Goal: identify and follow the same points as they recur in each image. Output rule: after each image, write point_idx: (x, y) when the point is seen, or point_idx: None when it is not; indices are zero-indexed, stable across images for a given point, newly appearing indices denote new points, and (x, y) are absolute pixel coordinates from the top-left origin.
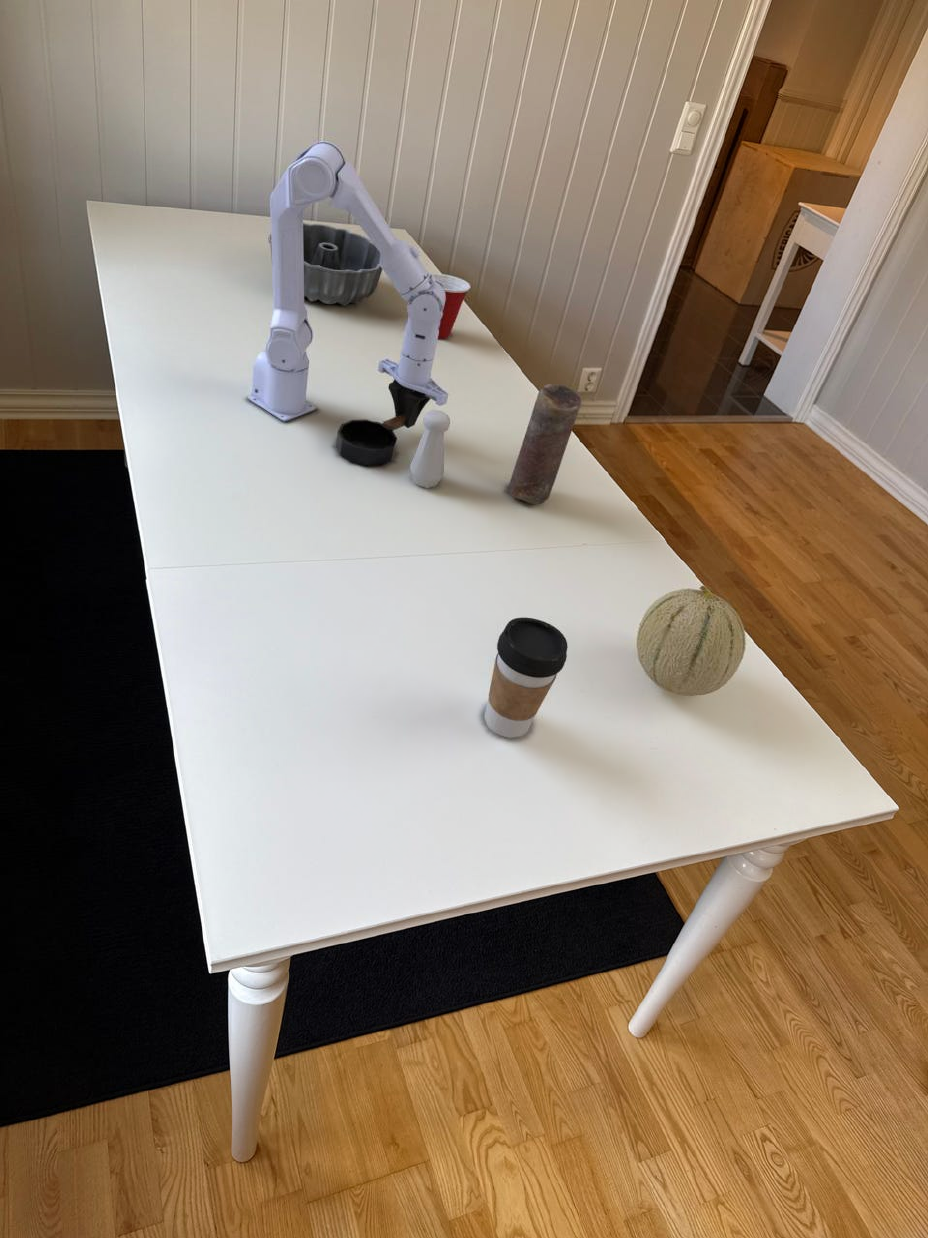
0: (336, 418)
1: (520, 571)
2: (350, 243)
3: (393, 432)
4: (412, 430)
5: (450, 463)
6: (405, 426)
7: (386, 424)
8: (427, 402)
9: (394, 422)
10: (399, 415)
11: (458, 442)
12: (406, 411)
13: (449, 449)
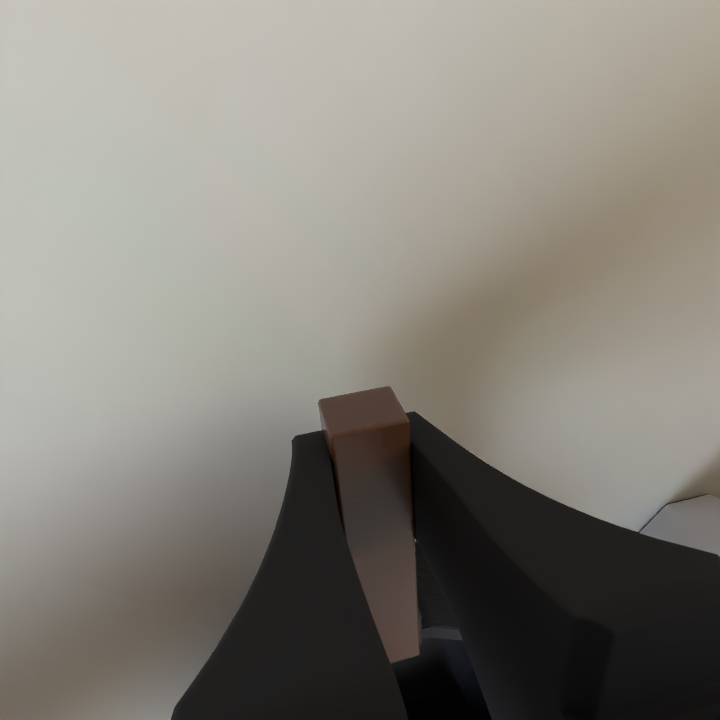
0: (21, 662)
1: None
2: None
3: (457, 630)
4: (339, 326)
5: (705, 345)
6: None
7: (391, 660)
8: (603, 521)
9: (406, 618)
10: (351, 553)
11: (640, 106)
12: (454, 616)
13: (637, 246)
